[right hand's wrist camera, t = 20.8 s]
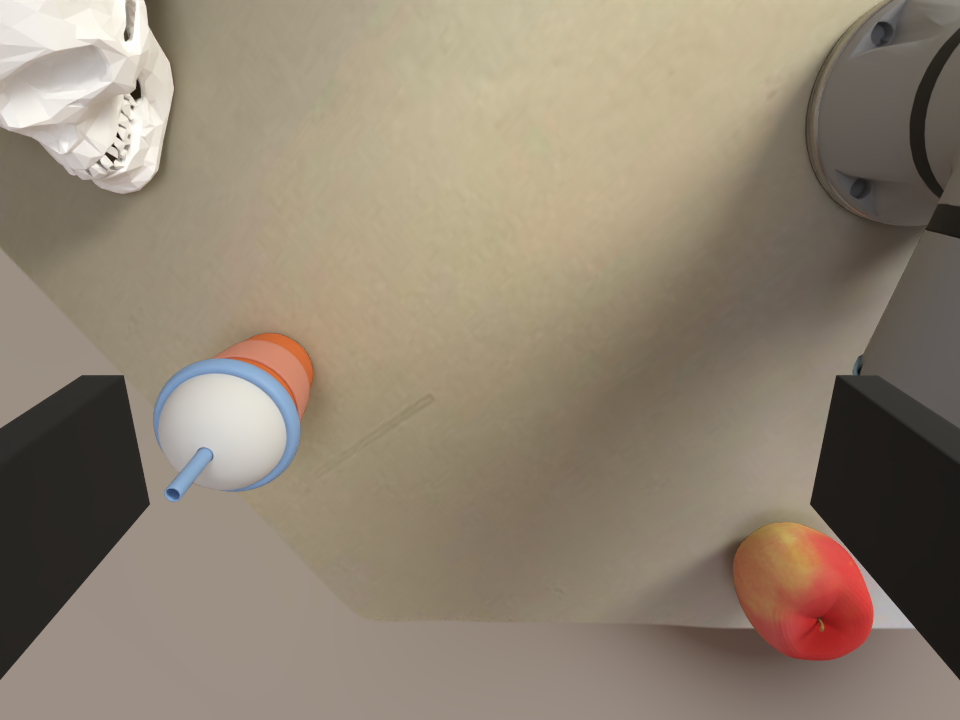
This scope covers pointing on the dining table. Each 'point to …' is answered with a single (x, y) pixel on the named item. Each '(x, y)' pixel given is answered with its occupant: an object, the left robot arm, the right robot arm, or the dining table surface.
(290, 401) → the cup with straw
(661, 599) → the dining table surface
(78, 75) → the skull
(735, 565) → the apple
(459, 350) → the dining table surface
